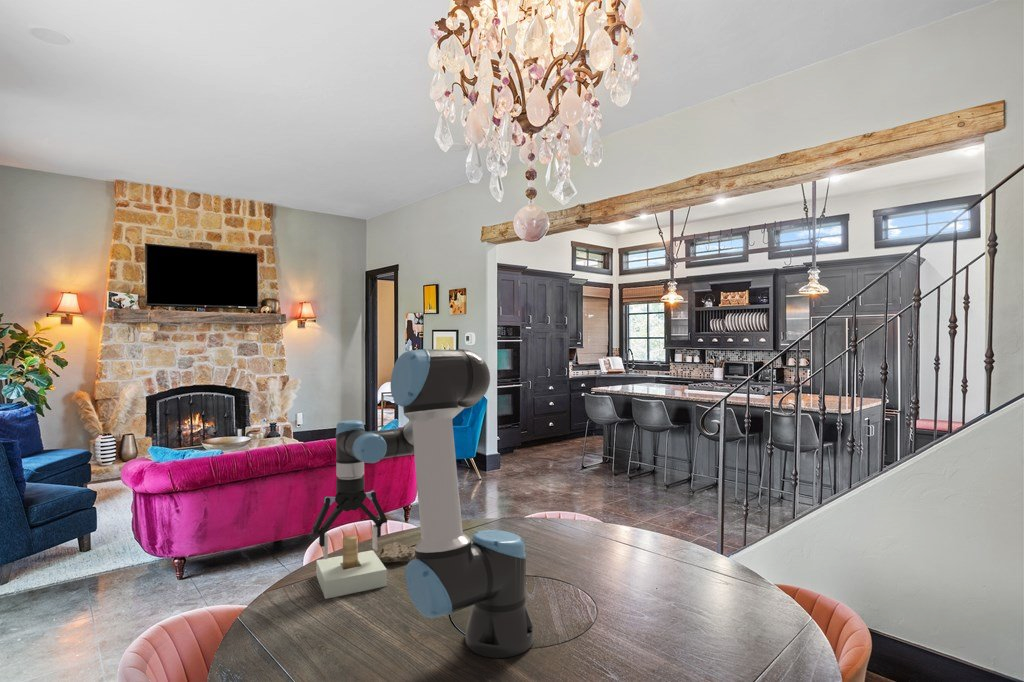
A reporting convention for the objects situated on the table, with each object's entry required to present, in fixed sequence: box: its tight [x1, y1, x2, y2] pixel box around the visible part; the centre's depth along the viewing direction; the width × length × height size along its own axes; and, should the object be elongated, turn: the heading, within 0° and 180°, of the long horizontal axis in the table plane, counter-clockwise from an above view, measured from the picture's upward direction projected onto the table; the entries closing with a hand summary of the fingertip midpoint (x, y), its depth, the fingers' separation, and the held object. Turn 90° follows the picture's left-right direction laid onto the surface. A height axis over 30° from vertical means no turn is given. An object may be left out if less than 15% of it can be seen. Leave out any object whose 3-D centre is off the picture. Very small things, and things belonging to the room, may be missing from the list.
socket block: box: [315, 549, 388, 600], centre depth 151 cm, size 16×16×4 cm
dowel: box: [342, 534, 359, 570], centre depth 152 cm, size 4×4×12 cm
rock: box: [377, 541, 415, 564], centre depth 166 cm, size 11×11×4 cm
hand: (350, 553), depth 152 cm, fingers open, 13 cm apart
